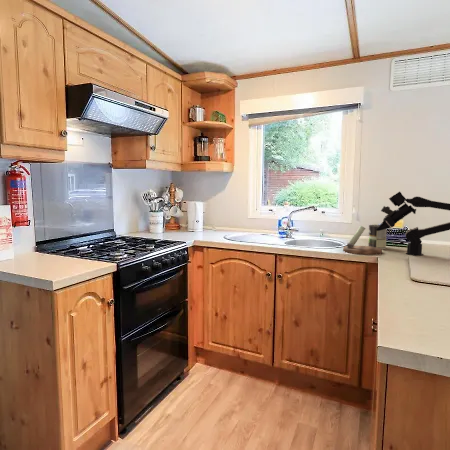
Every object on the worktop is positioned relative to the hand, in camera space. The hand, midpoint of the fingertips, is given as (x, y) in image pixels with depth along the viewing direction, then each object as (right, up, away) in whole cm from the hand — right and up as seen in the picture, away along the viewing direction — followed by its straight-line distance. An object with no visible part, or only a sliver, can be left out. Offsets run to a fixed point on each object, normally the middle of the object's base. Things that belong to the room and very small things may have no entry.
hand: (377, 229), depth 194 cm
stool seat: (-8, -13, +2) cm, 15 cm away
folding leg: (-14, -10, +4) cm, 18 cm away
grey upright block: (+7, -12, +16) cm, 22 cm away
